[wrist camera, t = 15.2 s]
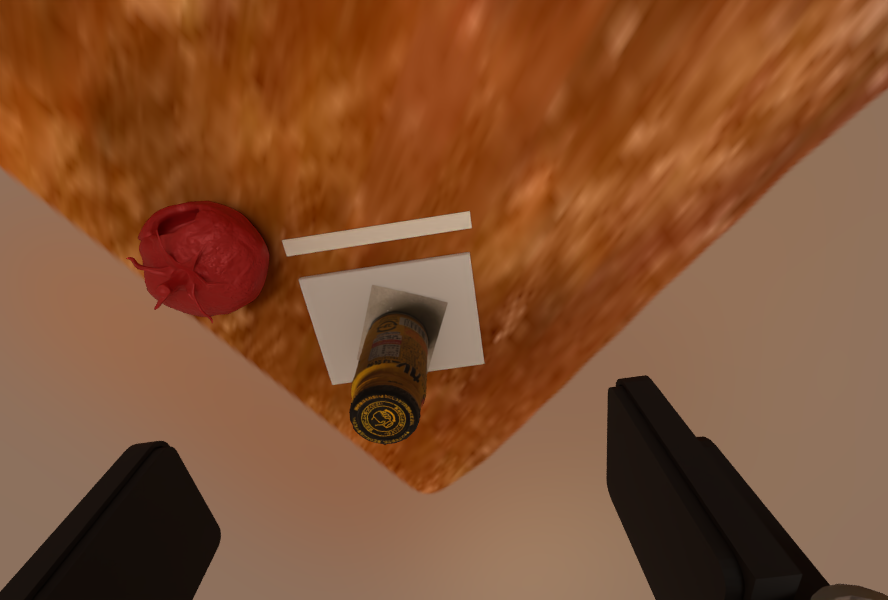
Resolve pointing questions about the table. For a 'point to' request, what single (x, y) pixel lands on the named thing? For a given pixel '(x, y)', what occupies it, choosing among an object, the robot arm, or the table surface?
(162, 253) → the pomegranate
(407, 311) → the condiment
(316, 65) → the table surface
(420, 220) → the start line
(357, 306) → the mat
